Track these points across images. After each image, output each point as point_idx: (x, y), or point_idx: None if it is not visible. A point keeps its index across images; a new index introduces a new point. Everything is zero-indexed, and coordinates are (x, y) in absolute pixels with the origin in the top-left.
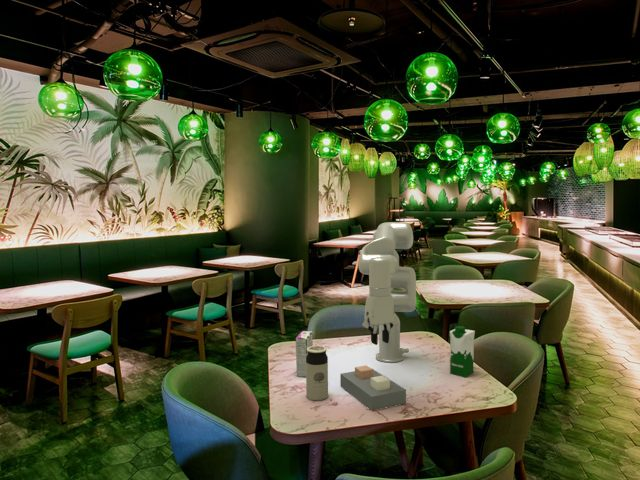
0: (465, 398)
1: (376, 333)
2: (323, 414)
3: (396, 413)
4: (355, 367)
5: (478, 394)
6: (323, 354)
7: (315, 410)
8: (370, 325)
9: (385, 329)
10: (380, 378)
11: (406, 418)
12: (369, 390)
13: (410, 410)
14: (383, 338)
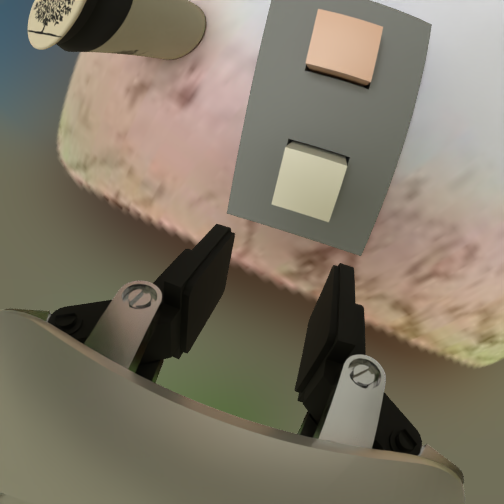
0: (472, 314)
1: (176, 350)
2: (134, 136)
3: (286, 251)
4: (318, 12)
5: (500, 320)
6: (69, 37)
7: (129, 106)
8: (90, 344)
9: (314, 397)
10: (313, 183)
11: (284, 282)
12: (256, 171)
13: (329, 266)
14: (326, 296)
